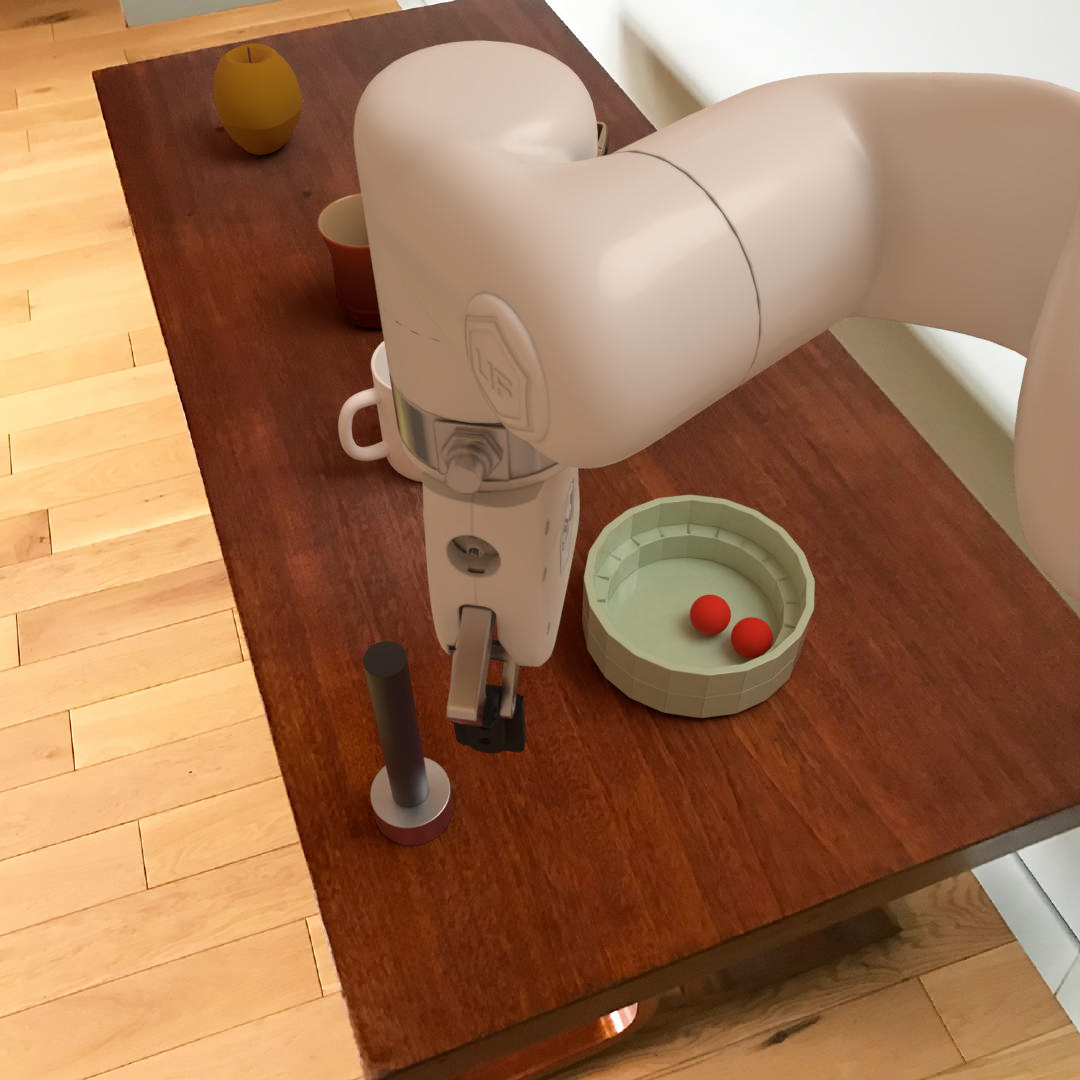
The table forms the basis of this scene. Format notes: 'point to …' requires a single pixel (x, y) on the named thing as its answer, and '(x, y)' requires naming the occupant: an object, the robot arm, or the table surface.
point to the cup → (386, 417)
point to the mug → (351, 259)
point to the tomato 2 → (751, 637)
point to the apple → (257, 98)
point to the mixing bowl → (675, 584)
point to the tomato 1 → (710, 614)
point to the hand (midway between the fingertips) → (511, 658)
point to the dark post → (403, 755)
